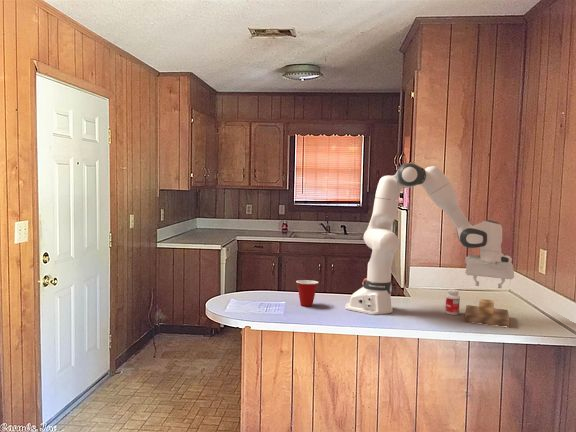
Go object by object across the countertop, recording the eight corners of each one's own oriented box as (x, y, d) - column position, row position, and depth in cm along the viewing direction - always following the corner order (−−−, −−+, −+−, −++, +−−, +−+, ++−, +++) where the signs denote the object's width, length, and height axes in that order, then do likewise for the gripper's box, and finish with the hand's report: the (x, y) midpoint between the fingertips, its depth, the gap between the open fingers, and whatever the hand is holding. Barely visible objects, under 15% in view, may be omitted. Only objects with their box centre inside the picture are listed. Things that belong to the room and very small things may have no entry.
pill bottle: (443, 311, 232) (444, 288, 231) (455, 311, 233) (456, 288, 232) (448, 315, 226) (449, 291, 225) (461, 315, 226) (462, 292, 226)
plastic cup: (318, 302, 241) (318, 279, 240) (317, 308, 231) (318, 283, 230) (296, 301, 242) (297, 277, 241) (294, 307, 232) (295, 282, 231)
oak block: (478, 312, 219) (479, 301, 219) (479, 309, 225) (479, 298, 224) (493, 314, 217) (493, 303, 216) (493, 311, 222) (494, 300, 222)
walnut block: (464, 323, 216) (464, 314, 216) (465, 313, 233) (466, 304, 232) (508, 329, 209) (509, 320, 209) (507, 318, 226) (507, 309, 226)
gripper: (465, 255, 219) (463, 285, 221) (515, 259, 212) (513, 290, 213) (466, 253, 225) (464, 282, 226) (514, 257, 218) (512, 287, 219)
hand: (488, 286), depth 220 cm, fingers open, 8 cm apart
